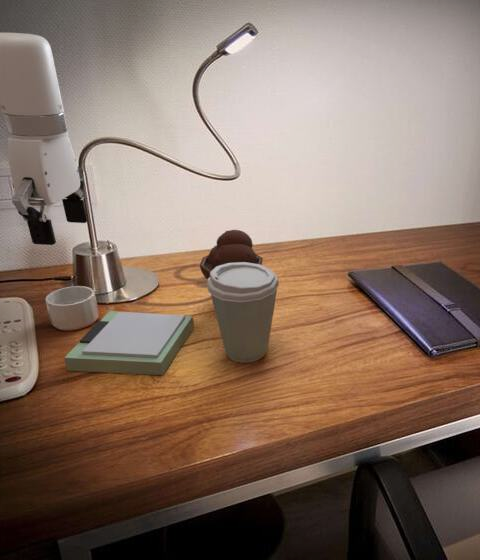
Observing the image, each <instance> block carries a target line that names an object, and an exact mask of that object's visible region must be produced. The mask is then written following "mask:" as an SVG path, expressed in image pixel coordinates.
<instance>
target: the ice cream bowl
mask: <svg viewBox="0 0 480 560" xmlns="http://www.w3.org/2000/svg"><path fill="white" fill-rule="evenodd" d="M253 245H254V243H253V240H252V238H251V236H250V235H249V234H248V233H246V232H245V231H242V230H240V229H231V230H225V231H224V232H223V233H221V235H220V236H218V238H217V239H216V245H214V246H213V247H212V248H211V249H210V251H209V254H208V255H205V256H203V257H202V258H201V261H200V263H199V268H200V271H201V273H202V275H203V277H204V278H205V279H206V281H207V280H208V278H209V277H210V272H211V271H212V270H213V269H214V268H215V267H216V266H220V265H223V264H227V263H237V262H247V263H254V264H260V265H262V266H263V260H264V258H263V257H262V256H260V255H259V254H258V253H256V252H255V251H254V249H253Z"/></svg>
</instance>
